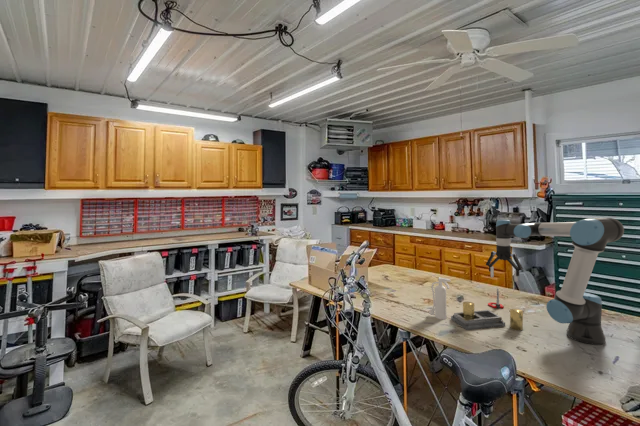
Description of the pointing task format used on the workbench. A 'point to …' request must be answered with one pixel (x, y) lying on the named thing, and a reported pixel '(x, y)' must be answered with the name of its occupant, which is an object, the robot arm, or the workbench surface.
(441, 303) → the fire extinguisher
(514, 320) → the sleeve
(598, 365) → the workbench surface
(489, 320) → the housing
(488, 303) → the tow hook
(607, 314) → the workbench surface
